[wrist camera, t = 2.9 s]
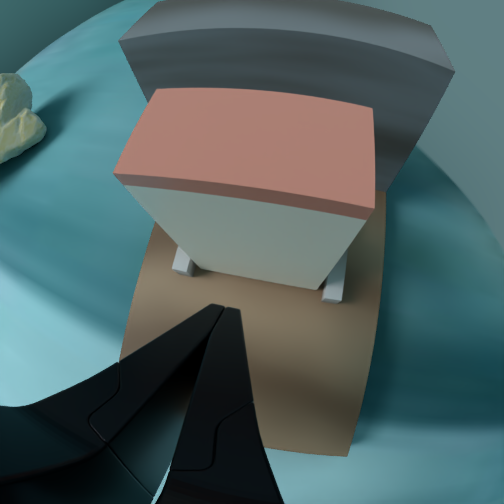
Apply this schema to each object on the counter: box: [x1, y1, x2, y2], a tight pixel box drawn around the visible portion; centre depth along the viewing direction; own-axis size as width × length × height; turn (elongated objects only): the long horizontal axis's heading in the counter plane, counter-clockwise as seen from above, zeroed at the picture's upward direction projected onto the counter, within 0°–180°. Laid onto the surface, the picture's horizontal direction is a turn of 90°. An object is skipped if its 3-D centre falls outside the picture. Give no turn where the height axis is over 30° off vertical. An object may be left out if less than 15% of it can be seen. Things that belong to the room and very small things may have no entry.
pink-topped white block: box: [113, 88, 375, 290], centre depth 11 cm, size 3×6×9 cm, turn 78°
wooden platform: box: [118, 0, 455, 457], centre depth 11 cm, size 19×13×11 cm
